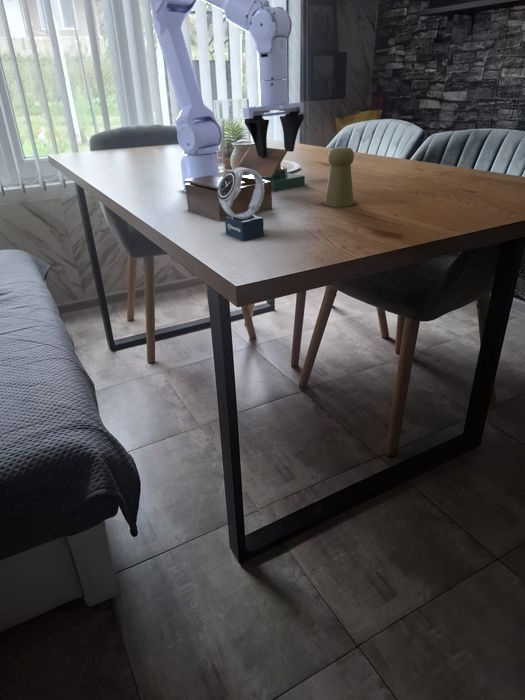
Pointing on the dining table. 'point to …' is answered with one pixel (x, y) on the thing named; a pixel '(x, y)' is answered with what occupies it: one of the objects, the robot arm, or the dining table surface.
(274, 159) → the flap
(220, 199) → the watch
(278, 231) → the dining table surface
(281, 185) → the button box
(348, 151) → the olive green tall piece
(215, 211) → the carton
